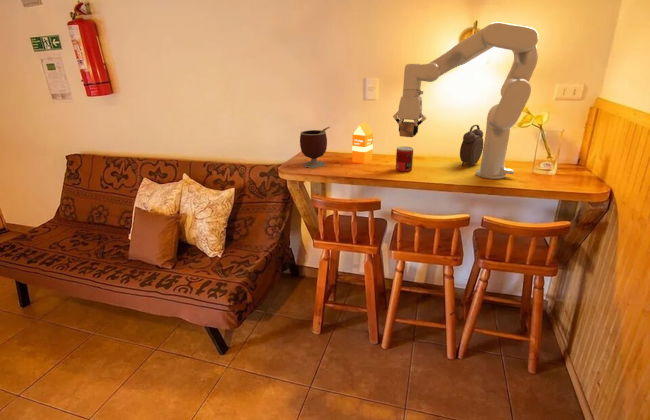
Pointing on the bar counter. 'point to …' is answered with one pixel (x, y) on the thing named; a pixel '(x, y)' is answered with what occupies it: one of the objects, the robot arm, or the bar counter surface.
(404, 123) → the walnut cube
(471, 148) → the alarm clock
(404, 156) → the canned food
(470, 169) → the bar counter surface
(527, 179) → the bar counter surface
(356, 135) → the orange juice
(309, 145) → the mate gourd
